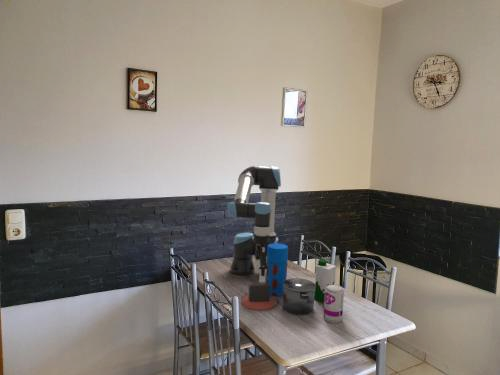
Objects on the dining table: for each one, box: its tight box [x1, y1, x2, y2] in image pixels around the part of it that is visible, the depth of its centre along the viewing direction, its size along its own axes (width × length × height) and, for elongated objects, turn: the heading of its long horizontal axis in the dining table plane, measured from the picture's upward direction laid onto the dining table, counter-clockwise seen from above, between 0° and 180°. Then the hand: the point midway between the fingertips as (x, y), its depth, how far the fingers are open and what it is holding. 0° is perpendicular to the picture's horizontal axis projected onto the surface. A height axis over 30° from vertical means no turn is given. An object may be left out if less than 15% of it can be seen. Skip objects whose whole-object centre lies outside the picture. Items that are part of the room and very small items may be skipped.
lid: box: [241, 282, 277, 311], centre depth 181 cm, size 17×17×10 cm
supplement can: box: [323, 284, 345, 324], centre depth 167 cm, size 8×8×15 cm
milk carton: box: [314, 259, 337, 304], centre depth 187 cm, size 9×9×20 cm
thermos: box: [265, 242, 289, 297], centre depth 195 cm, size 11×11×25 cm
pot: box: [281, 277, 316, 316], centre depth 177 cm, size 21×16×12 cm
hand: (259, 277), depth 180 cm, fingers open, 13 cm apart
